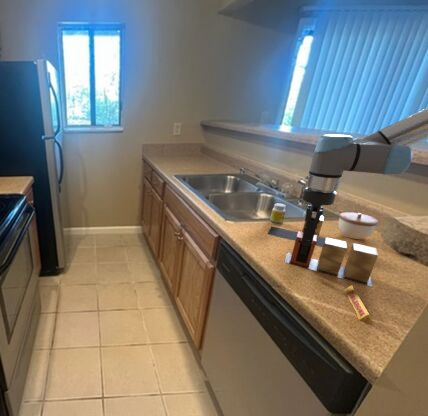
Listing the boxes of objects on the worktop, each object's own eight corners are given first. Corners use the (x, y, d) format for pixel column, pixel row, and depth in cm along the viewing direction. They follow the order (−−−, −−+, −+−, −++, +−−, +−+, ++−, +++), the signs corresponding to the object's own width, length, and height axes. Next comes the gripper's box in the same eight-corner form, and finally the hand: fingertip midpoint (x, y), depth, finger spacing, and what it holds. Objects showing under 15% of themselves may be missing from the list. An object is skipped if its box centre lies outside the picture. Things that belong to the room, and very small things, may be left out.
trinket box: (345, 228, 111) (352, 206, 108) (378, 239, 102) (386, 216, 99) (327, 232, 108) (334, 210, 105) (359, 245, 99) (368, 221, 95)
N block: (365, 274, 82) (376, 248, 78) (367, 282, 78) (378, 255, 75) (344, 268, 84) (353, 243, 81) (344, 276, 81) (353, 249, 78)
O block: (317, 238, 103) (323, 216, 100) (316, 243, 100) (323, 220, 97) (301, 234, 106) (307, 213, 103) (299, 239, 103) (305, 217, 99)
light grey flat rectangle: (369, 274, 82) (369, 273, 82) (372, 287, 76) (372, 286, 76) (287, 252, 94) (287, 252, 94) (284, 263, 89) (284, 262, 89)
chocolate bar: (355, 292, 74) (357, 286, 74) (372, 323, 64) (376, 315, 64) (343, 290, 76) (345, 283, 75) (358, 319, 65) (361, 312, 65)
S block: (309, 260, 90) (317, 235, 86) (308, 266, 86) (316, 241, 83) (291, 255, 92) (298, 231, 89) (290, 261, 89) (296, 236, 86)
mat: (325, 238, 104) (325, 238, 103) (324, 248, 97) (324, 247, 97) (271, 226, 114) (271, 226, 114) (267, 234, 108) (267, 234, 107)
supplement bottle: (282, 226, 114) (287, 207, 111) (269, 224, 117) (273, 205, 114) (282, 222, 118) (286, 203, 115) (269, 220, 121) (273, 202, 117)
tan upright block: (337, 267, 85) (346, 241, 82) (337, 274, 82) (347, 248, 79) (317, 262, 88) (325, 237, 85) (317, 269, 85) (325, 243, 81)
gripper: (308, 178, 91) (292, 236, 99) (301, 197, 74) (283, 266, 82) (336, 182, 87) (318, 242, 95) (337, 202, 69) (314, 275, 77)
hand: (302, 253), depth 88 cm, fingers open, 12 cm apart
